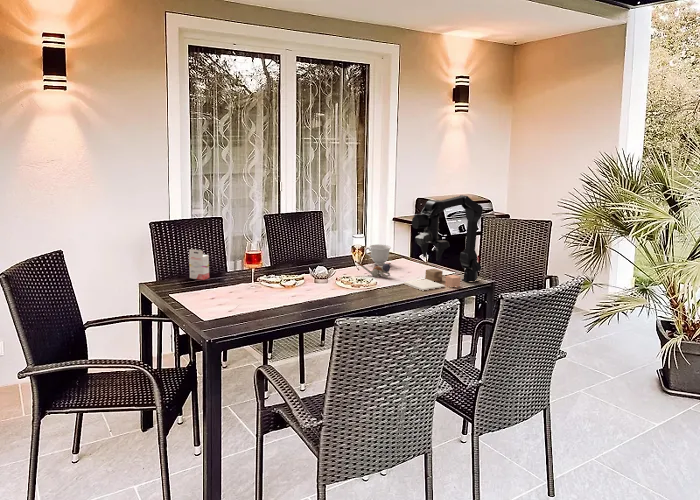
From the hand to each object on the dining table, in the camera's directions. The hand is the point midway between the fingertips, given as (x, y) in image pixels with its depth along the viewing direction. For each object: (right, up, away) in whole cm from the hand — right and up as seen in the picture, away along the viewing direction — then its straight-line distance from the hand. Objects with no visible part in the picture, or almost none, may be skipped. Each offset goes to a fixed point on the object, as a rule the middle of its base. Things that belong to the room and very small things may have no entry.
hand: (430, 259), depth 283 cm
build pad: (-3, -13, +4) cm, 14 cm away
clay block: (+11, -14, +5) cm, 18 cm away
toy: (-27, -9, +21) cm, 36 cm away
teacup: (-24, -4, +46) cm, 52 cm away
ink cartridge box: (-113, -10, +6) cm, 114 cm away
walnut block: (+4, -11, +16) cm, 20 cm away
